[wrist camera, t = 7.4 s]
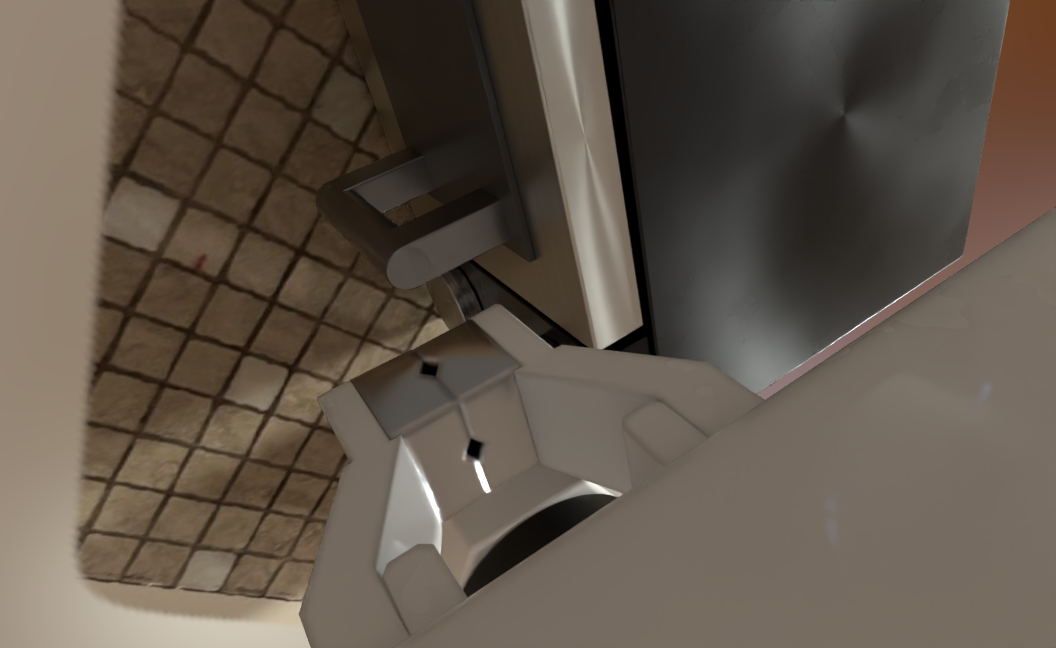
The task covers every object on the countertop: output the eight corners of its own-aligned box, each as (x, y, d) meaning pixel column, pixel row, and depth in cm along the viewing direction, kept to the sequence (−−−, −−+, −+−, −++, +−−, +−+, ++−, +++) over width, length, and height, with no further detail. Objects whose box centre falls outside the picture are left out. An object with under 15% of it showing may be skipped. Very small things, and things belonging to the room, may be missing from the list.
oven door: (325, 256, 25) (474, 427, 17) (167, -90, 19) (275, -109, 10) (449, 198, 27) (645, 325, 18) (343, -139, 20) (568, -193, 12)
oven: (433, 324, 29) (605, 496, 20) (273, -120, 20) (461, -163, 11) (724, 172, 34) (963, 256, 26) (705, -234, 25) (1071, -327, 16)
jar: (490, 512, 36) (638, 704, 27) (336, 533, 31) (454, 775, 22) (538, 356, 33) (722, 514, 24) (377, 354, 28) (532, 548, 19)
